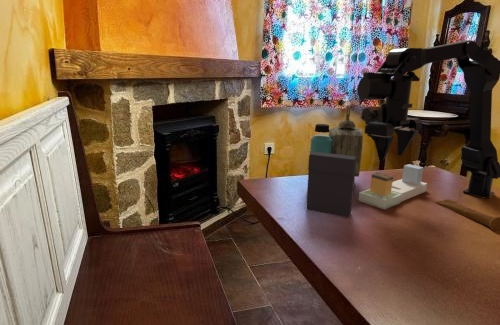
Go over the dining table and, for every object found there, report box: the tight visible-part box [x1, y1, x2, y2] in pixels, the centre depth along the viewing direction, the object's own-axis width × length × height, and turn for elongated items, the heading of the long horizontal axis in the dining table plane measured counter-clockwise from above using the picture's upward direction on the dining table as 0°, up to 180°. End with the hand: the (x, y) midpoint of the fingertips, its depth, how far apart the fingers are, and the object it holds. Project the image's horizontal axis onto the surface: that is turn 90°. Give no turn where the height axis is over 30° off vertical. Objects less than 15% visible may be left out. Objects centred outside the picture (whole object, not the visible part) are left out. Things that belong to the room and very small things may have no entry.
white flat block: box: [391, 178, 428, 202], centre depth 105 cm, size 15×7×2 cm, turn 129°
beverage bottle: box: [307, 123, 332, 175], centre depth 105 cm, size 6×7×20 cm
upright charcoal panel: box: [305, 152, 357, 218], centre depth 89 cm, size 11×4×15 cm, turn 65°
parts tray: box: [358, 188, 402, 211], centre depth 98 cm, size 8×8×2 cm
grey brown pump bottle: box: [328, 104, 364, 178], centre depth 111 cm, size 14×9×25 cm, turn 170°
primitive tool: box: [433, 198, 500, 232], centre depth 91 cm, size 19×6×4 cm, turn 14°
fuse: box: [401, 163, 424, 185], centre depth 107 cm, size 3×4×7 cm, turn 39°
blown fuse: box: [369, 172, 394, 200], centre depth 97 cm, size 3×5×7 cm
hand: (390, 157), depth 95 cm, fingers open, 9 cm apart
